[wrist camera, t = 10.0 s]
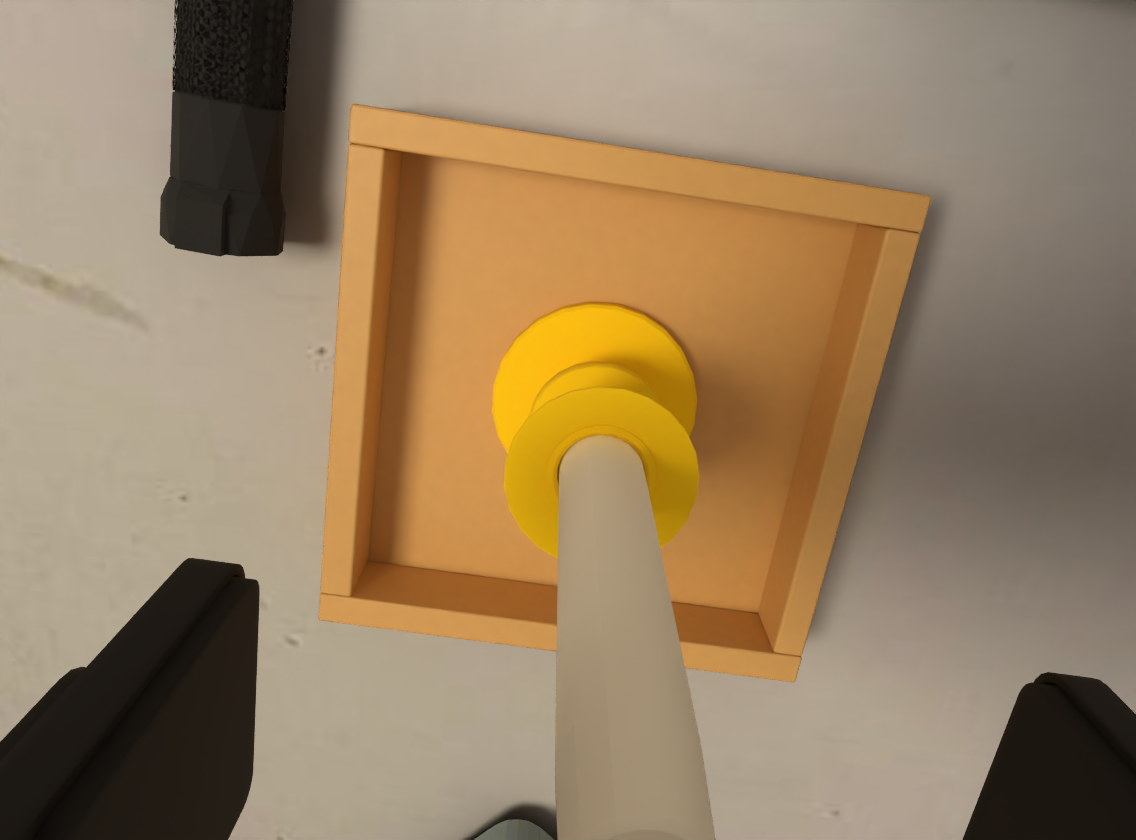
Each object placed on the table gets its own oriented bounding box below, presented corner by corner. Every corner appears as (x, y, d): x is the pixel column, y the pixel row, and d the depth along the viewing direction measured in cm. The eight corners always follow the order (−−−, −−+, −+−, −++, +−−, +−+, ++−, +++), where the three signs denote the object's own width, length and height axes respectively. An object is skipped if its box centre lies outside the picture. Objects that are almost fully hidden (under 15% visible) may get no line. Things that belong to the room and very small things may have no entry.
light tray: (377, 107, 20) (349, 103, 17) (889, 189, 20) (933, 196, 18) (343, 571, 24) (317, 620, 21) (772, 628, 24) (795, 683, 22)
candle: (548, 264, 20) (492, 589, 6) (732, 357, 21) (1108, 861, 6) (460, 442, 22) (234, 1067, 7) (634, 523, 23) (756, 1243, 8)
